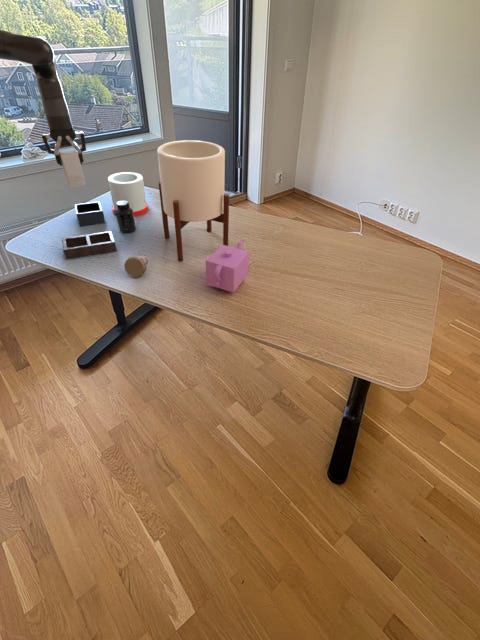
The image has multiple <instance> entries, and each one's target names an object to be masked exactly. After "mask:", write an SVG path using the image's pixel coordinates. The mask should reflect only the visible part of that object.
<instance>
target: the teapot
mask: <svg viewBox="0 0 480 640" xmlns="http://www.w3.org/2000/svg"><path fill="white" fill-rule="evenodd" d="M243 245H244V240H243V239H241V240H239V241H238V242H237V245H236V247H233V246H230V245H228V246H226V245H223V244H221V245H220V246H219V247H218V248H217V249H216V250H215V251H214V252H213V253H212V254H211V255H210V256H208V258H207V259H205V284H206V285H207V286H211V287H212V288H217V289H220V290H225V291H228V293H235V292H236V290H237V289H238V288H239V287H240V285H241V284H242V283H243V282H244V281H245V279H246V278H247V276H248V275H249V263H250V251H249V250H244V249H242V248H243Z"/></svg>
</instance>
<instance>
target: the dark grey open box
mask: <svg viewBox="0 0 480 640" xmlns="http://www.w3.org/2000/svg"><path fill="white" fill-rule="evenodd" d="M74 209H75V215H76V218H77V221H78V225H79V227H88V226H96V225H102V224H106V220H105V215H104V211H103V208H102V205H101V202H100V201H93V202H85V203H84V202H83V203H77V204H75V203H74Z"/></svg>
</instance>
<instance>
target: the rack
mask: <svg viewBox="0 0 480 640" xmlns="http://www.w3.org/2000/svg"><path fill="white" fill-rule="evenodd" d="M61 243H62V251H63V254H64V257H65V260H66V261H67V260H74V259H79V258H85V257H92V256H97V255H103V254H110V253H114V252H117V251H118V250H117V244H116V241H115V238H114V236H113V232H112V230H107V231H102V232H101V231H100V232H95V233H86V234H79V235H73V236H67V237H61Z"/></svg>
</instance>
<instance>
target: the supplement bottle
mask: <svg viewBox="0 0 480 640" xmlns="http://www.w3.org/2000/svg"><path fill="white" fill-rule="evenodd" d="M115 216H116V221H117V225H118V229H119V232H120V233H121V234H125V235H128V234H129V235H130V234H133V233H135V232H136V231H137V226H136V220H135V217H134V214H133V210H132V209H131V208H130V205H129V202H128V201H119V202H117V210H116V215H115Z"/></svg>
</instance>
